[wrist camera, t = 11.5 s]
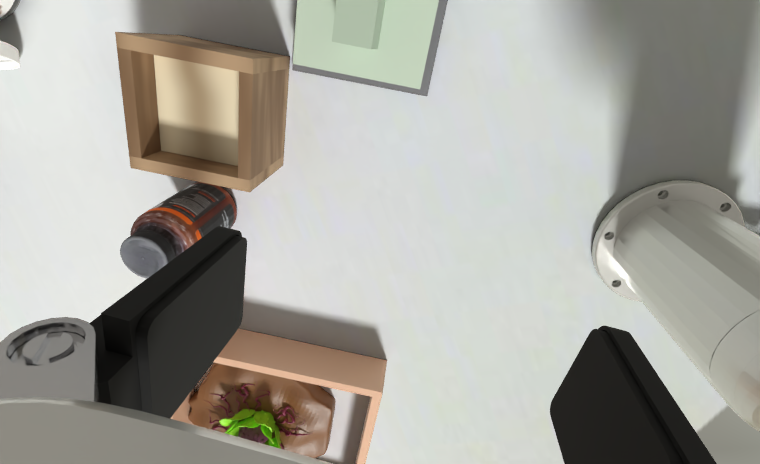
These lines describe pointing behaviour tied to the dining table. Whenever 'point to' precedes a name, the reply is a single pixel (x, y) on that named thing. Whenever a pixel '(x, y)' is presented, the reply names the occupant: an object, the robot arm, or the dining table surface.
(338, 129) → the dining table surface
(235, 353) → the wooden tray
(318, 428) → the plant
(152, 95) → the box
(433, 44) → the mat
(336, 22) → the lid
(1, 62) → the spread jar
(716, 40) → the dining table surface
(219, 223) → the supplement bottle
